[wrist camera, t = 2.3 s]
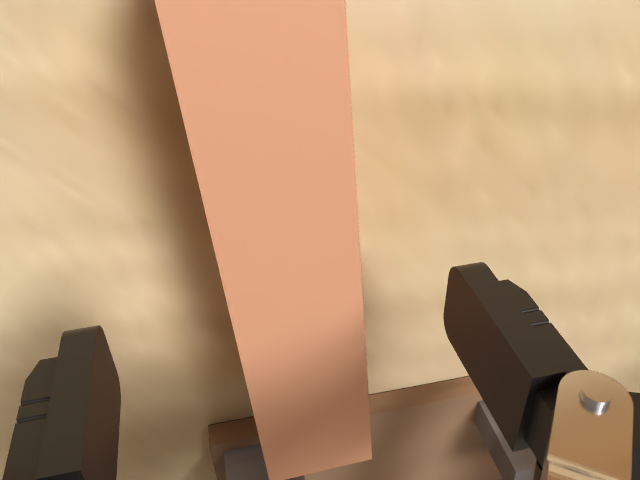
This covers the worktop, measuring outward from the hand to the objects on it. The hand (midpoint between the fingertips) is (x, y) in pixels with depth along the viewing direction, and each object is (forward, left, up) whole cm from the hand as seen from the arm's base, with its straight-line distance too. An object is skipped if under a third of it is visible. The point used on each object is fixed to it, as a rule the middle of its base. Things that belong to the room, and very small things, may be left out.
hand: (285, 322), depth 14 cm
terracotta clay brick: (0, 0, -7) cm, 7 cm away
